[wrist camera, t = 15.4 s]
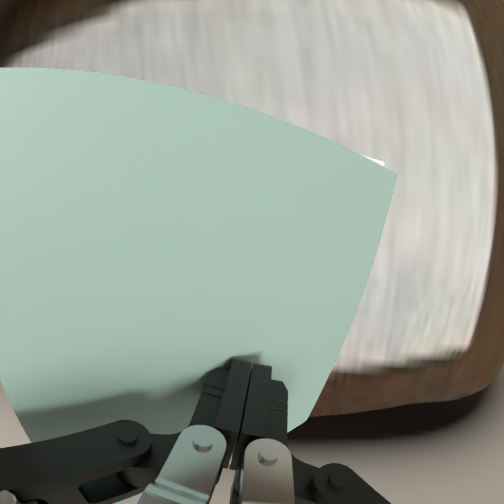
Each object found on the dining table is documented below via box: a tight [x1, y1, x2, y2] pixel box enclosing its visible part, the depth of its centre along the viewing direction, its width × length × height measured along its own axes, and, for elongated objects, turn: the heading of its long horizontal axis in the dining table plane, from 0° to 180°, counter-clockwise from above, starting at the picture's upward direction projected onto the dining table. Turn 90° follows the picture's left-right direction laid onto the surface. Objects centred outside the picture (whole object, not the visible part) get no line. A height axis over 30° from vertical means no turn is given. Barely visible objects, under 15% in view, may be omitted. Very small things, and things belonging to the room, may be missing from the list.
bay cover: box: [0, 68, 397, 504], centre depth 11 cm, size 18×17×1 cm
